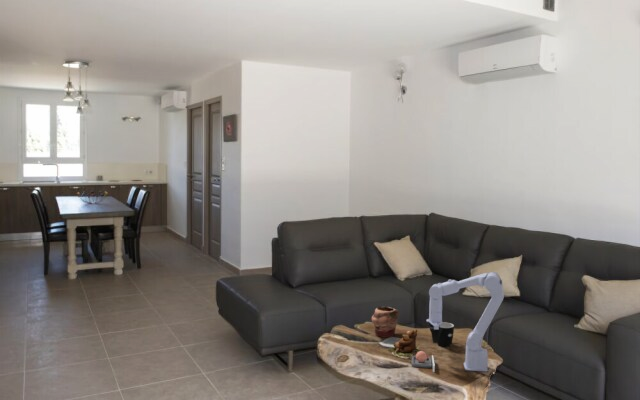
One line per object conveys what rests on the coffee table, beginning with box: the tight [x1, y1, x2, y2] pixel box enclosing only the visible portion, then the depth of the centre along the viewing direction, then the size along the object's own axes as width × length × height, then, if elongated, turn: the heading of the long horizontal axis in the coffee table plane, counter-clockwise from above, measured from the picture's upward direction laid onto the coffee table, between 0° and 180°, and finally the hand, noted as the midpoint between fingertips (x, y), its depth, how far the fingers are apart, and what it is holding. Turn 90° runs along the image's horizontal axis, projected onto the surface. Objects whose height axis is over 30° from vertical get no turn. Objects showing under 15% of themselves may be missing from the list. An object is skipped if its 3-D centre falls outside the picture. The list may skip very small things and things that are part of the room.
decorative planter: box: [371, 306, 400, 338], centre depth 287 cm, size 20×12×14 cm, turn 139°
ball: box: [416, 350, 428, 363], centre depth 248 cm, size 5×5×5 cm
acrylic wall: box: [431, 354, 436, 373], centre depth 244 cm, size 1×12×3 cm, turn 172°
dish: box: [411, 356, 432, 369], centre depth 248 cm, size 9×9×2 cm
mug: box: [436, 321, 455, 348], centre depth 273 cm, size 12×9×10 cm
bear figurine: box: [388, 329, 422, 360], centre depth 260 cm, size 14×15×12 cm
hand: (434, 339), depth 249 cm, fingers open, 7 cm apart
